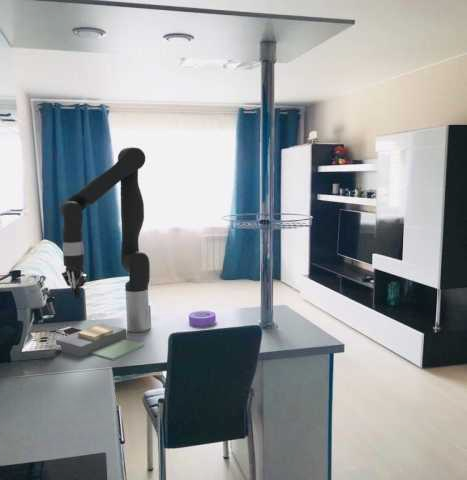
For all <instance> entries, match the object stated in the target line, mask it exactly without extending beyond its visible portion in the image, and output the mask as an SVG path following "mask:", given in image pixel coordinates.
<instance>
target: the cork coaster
mask: <svg viewBox="0 0 467 480" xmlns="http://www.w3.org/2000/svg"><path fill="white" fill-rule="evenodd" d="M94 326H95V327H93V326H92V327H93V328H90V327H89V328H90V329H87V328H86V329H87V330H85V329H83V330H84V331H82V332H79V333H78V337H82V338H86V339H89V340H93V341H95V340H98V339H101V338H103V337H106V336H108V335H111V334H113V330H111V329H107V328H102V327H98V326H96V325H94Z"/></svg>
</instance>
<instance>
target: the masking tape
mask: <svg viewBox="0 0 467 480" xmlns="http://www.w3.org/2000/svg"><path fill="white" fill-rule="evenodd" d="M216 314H217V313H215V312H213V311H210V310H199V311H192V312H190V313H189V314H188V324H189V325H190V326H194V327H199V328H200V327H202V326H204V327H208V326H207V325H210V324H213V323H214V322H215V321H216V322H217V319H216V316H217V315H216ZM213 325H214V324H213ZM210 326H211V325H210Z"/></svg>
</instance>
